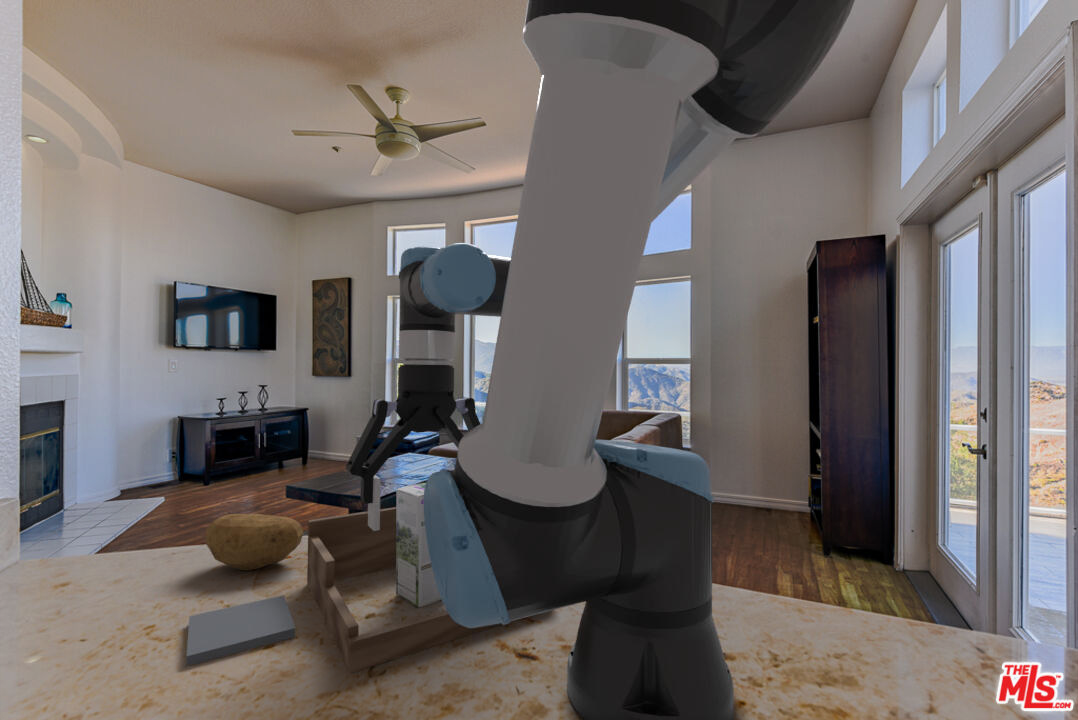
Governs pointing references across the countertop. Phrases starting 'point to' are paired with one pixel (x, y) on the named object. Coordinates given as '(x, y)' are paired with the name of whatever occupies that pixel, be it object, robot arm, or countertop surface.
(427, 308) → the robot arm
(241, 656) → the countertop surface
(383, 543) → the frame
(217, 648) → the slate mat
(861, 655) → the countertop surface
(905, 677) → the countertop surface
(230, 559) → the potato
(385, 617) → the countertop surface
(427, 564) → the syrup box
